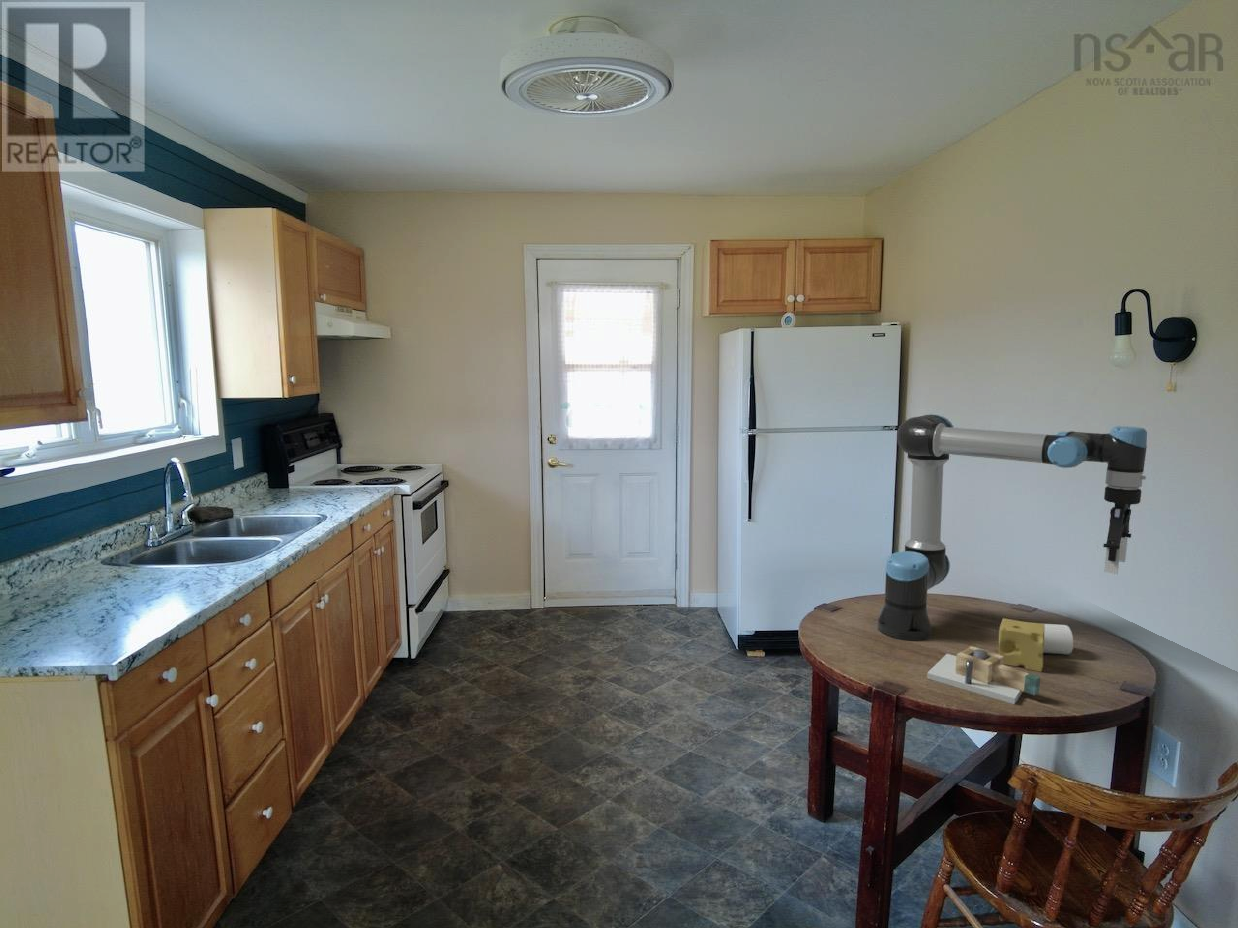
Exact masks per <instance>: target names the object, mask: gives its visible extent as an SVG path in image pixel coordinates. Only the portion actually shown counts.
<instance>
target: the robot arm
mask: <svg viewBox="0 0 1238 928" xmlns="http://www.w3.org/2000/svg"><path fill="white" fill-rule="evenodd" d="M1147 439H1148V432H1147V430H1146V429H1145V428H1143V427H1138V426H1137V427H1136V426H1120V425H1119V426H1114V427H1112V428H1110V432H1109V433H1095V432H1094V433H1093V432H1082V431H1081V432H1080V431H1073V430H1072V431H1059V432H1057V434H1043V433H1042V434H1041V433H1031V432H1030V433H1028V432H1018V431H1017V432H1016V431H1015V432H1014V431H1002V430H990V429H976V428H963V427H954V425H953V423H952V422H951V421H950V420H949V419H948V418H946V417H944V416H942V415H938V414H932V413H931V414H924V415H921V416H914V417H910V418H908V419H905V420H904V421H903V422H902V424H900V426H899V427H898V429H897V432H896V440H897V444H898V446H899V448H900V449H901V450H902V451H903V452H904V453H906V454H907V460H909V461H910V463H911V464H912V475H911V477H912V479H911V480H912V482H911V506H910V507H911V509H910V510H911V511H910V513H911V515H910V537H909V539H908V540H907V541H906V542H905V544H904V550H903V551H896V552H894V553H892V554H890V555H889V556H888V557H887V559H886V566H885V587H884V590H885V591H884V605H883V607H882V609H881V611H880V614H879V616H878V618H877V624H876V625H877V628H876V629H877V630H878V631H879V632H880V633H882V634H883V635H886V636H888V637H891V638H895V639H898V640H904V641H905V640H906V641H921V640H927V639H929V638H930V637H931V636H932V624H931V621H930V617H929V614H928V610H927V603H928V601H927V599H928V590H930V589H932V588H933V587H935V586H938V585H939V584H941V583H942V582H943V581H944V580H945V579H946V578H947V576H948V574H949V572H950V568H951V565H950V560H949V557H948V555H947V554H946V550H947V549H946V545H945V543H943V542H942V541H941V533H942V510H943V509H942V508H943V504H942V503H943V483H944V482H943V481H944V465H945V464H946V463H947V462H948V461H949V460H950V455H952V456H953V455H954V456H964V457H965V456H966V457H972V458H973V457H975V458H976V457H977V458H984V459H985V458H986V459H996V460H1006V461H1007V460H1008V461H1017V462H1026V463H1027V462H1028V463H1035V464H1036V463H1038V464H1045V465H1054V466H1056V467H1060V468H1063V469H1064V468H1065V469H1066V468H1068V469H1069V468H1075V467H1078V466H1079V465H1081V464H1083V463H1084V462H1091V463H1092V462H1094V463H1095V462H1096V463H1106V464H1107V467H1106V473H1105V474H1106V475H1105V484H1106V485H1107V486H1105V487H1104V497H1103V498H1104V501H1106V502H1107V503H1113V504H1114V507H1113V506H1112V507H1111V508H1110V512H1109V513H1110V517H1109V527H1108V532H1107V538H1106V543H1103V548H1106V552H1105V561H1104V571H1103V572H1104V573H1109V574H1112V575H1113V574H1115V575H1117V574H1119V563H1120V562H1121V563H1125V562H1126V557H1127V546H1128V538H1131V537H1132V533H1130V519H1131V514H1132V509H1131V505H1138V504H1140V503H1141V498H1142V490H1141V487H1143V480H1146V479H1147V477H1146V476H1145V475H1144V471H1145V470H1144V469H1145V461H1146V455H1147V454H1146V453H1147V449H1148V447H1147V446H1148V445H1147V441H1148V440H1147Z"/></svg>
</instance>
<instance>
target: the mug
mask: <svg viewBox="0 0 1238 928" xmlns="http://www.w3.org/2000/svg"><path fill="white" fill-rule="evenodd" d="M1043 624H1044V625H1045V629H1044V650H1043V654H1053V655H1054V654H1055V655H1070V654H1072V653H1073V649H1074V636H1073V635H1074V634H1073V632H1072V630H1071V628H1070V627H1069V625H1067V624H1057V623H1056V624H1055V623H1054V624H1053V623H1043Z"/></svg>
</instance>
